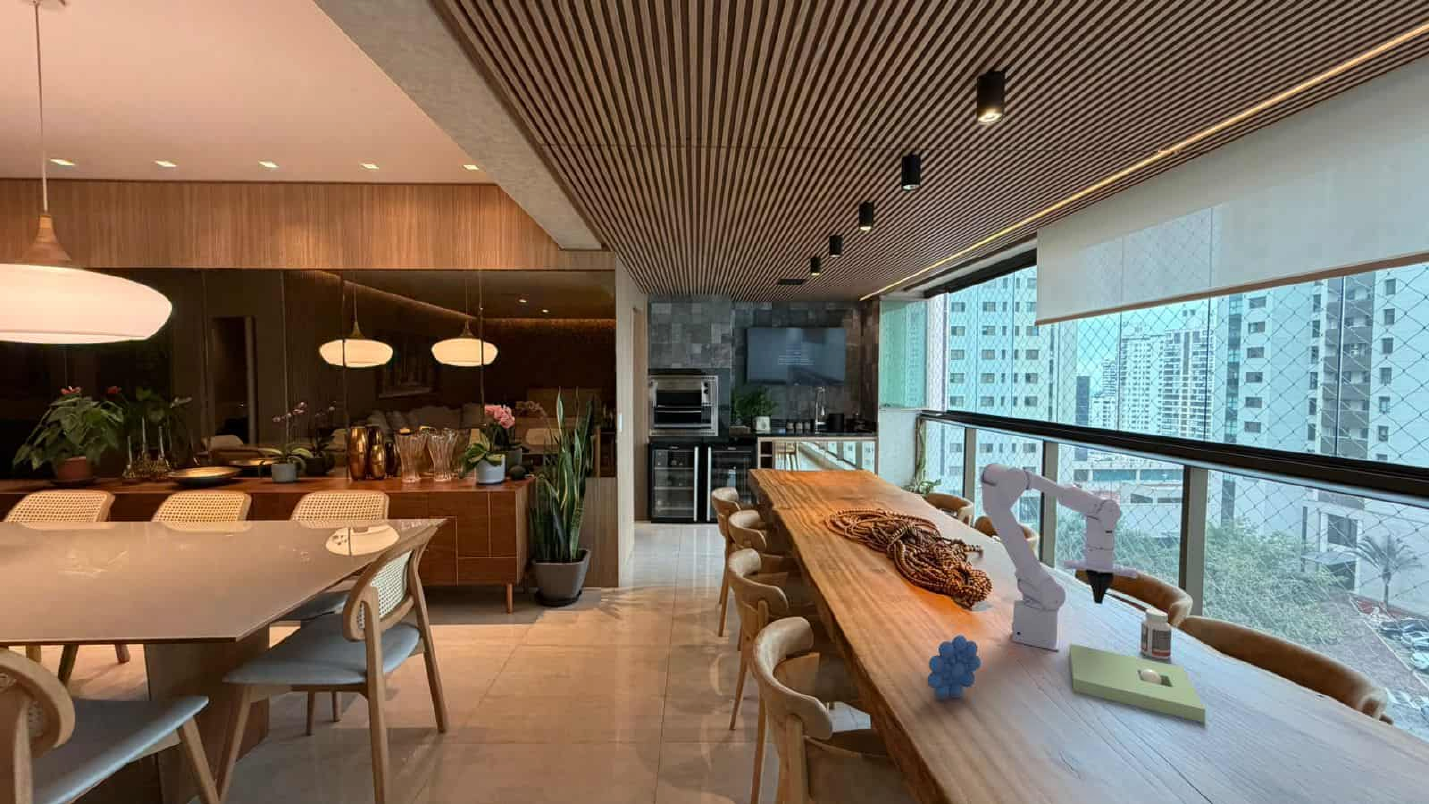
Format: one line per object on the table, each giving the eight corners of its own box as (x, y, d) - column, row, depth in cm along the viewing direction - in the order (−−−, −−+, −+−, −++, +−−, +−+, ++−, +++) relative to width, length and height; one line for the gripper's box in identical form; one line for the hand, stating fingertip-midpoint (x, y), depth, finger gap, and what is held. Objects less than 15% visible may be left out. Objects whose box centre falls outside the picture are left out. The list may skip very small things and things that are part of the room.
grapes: (963, 682, 112) (964, 624, 112) (987, 700, 106) (989, 638, 106) (913, 689, 109) (915, 630, 109) (936, 708, 103) (937, 645, 103)
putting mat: (1073, 690, 110) (1073, 678, 110) (1069, 654, 125) (1069, 643, 125) (1204, 723, 100) (1205, 709, 100) (1182, 679, 115) (1183, 667, 115)
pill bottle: (1174, 656, 125) (1175, 613, 125) (1165, 662, 122) (1166, 619, 122) (1145, 646, 130) (1147, 606, 130) (1136, 652, 127) (1137, 610, 127)
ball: (1166, 683, 108) (1149, 691, 109) (1165, 684, 111) (1148, 691, 112) (1152, 665, 111) (1135, 673, 111) (1151, 666, 113) (1134, 674, 114)
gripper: (1065, 546, 132) (1064, 602, 132) (1140, 555, 125) (1139, 614, 125) (1062, 539, 138) (1061, 592, 138) (1133, 547, 131) (1132, 603, 132)
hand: (1097, 602), depth 132 cm, fingers closed
